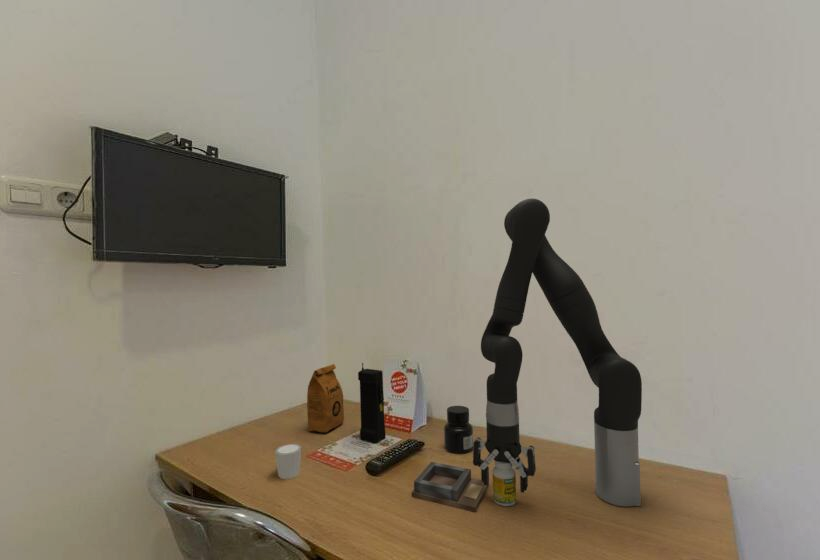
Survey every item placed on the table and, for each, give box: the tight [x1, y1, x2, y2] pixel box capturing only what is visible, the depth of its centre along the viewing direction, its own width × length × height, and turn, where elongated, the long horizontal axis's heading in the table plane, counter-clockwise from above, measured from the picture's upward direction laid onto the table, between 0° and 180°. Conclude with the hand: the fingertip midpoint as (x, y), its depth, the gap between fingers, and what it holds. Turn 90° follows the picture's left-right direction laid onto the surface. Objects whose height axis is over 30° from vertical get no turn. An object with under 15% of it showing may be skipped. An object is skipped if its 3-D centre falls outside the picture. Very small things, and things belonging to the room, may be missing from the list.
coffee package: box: [306, 363, 345, 433], centre depth 141 cm, size 10×12×22 cm
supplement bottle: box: [492, 460, 517, 507], centre depth 93 cm, size 5×5×10 cm
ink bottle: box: [443, 405, 474, 454], centre depth 122 cm, size 10×9×12 cm
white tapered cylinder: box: [274, 443, 302, 480], centre depth 108 cm, size 7×7×7 cm
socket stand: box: [411, 461, 490, 512], centre depth 97 cm, size 16×12×4 cm
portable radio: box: [357, 362, 387, 444], centre depth 130 cm, size 8×6×25 cm
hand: (504, 487), depth 93 cm, fingers open, 8 cm apart
